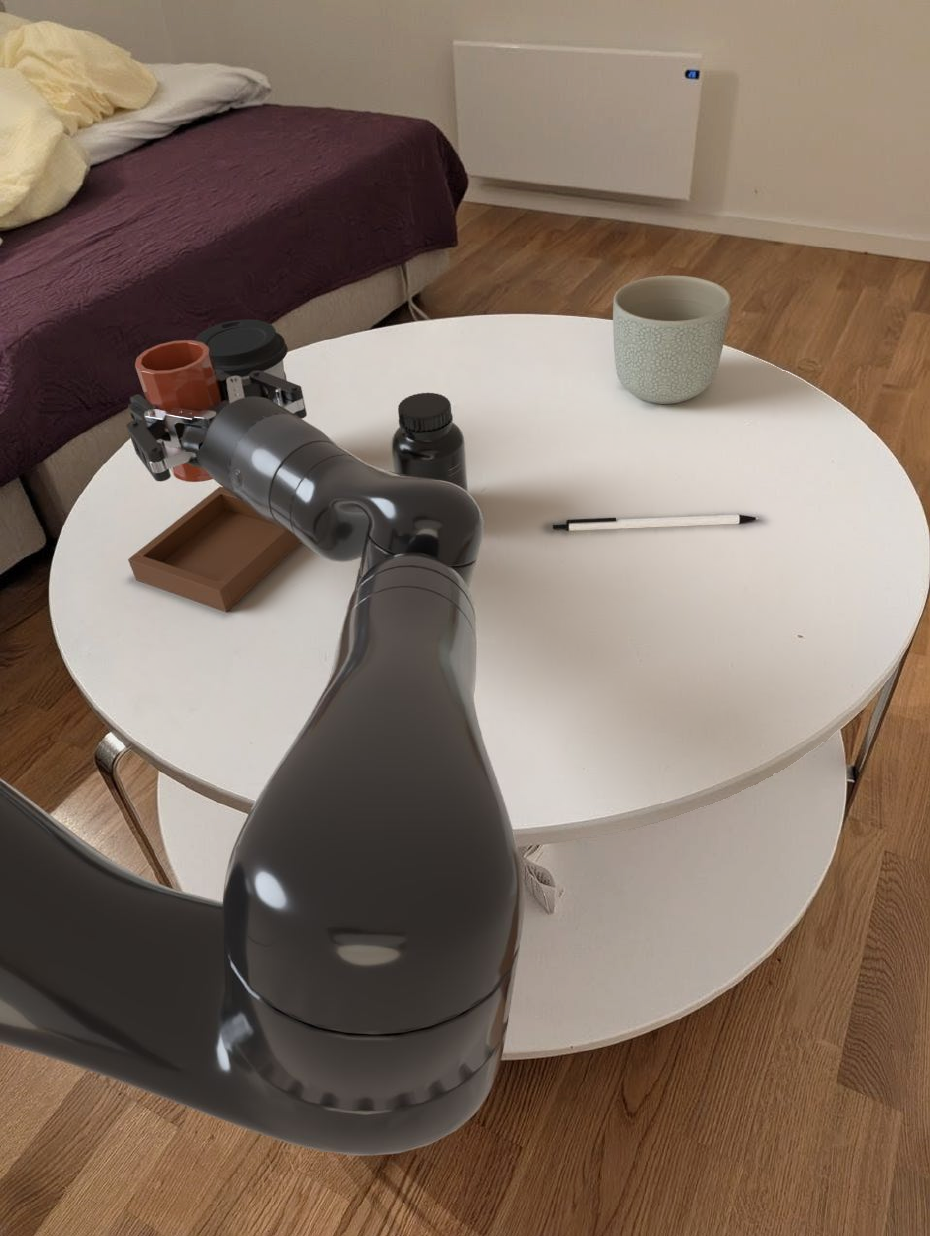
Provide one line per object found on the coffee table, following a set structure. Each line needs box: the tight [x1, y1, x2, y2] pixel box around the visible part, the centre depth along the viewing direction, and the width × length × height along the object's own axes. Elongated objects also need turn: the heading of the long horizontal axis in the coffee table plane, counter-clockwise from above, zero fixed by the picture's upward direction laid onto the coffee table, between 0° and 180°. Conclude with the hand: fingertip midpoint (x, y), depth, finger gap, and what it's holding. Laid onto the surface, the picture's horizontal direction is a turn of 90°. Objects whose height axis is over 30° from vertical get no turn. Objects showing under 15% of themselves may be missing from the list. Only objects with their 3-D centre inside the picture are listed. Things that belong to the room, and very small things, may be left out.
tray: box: [127, 486, 302, 613], centre depth 87 cm, size 13×11×2 cm
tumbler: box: [134, 339, 224, 483], centre depth 76 cm, size 6×6×10 cm
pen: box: [552, 514, 758, 532], centre depth 87 cm, size 1×19×1 cm, turn 89°
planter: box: [612, 275, 732, 405], centre depth 102 cm, size 12×12×11 cm
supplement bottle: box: [391, 392, 469, 493], centre depth 87 cm, size 7×7×12 cm
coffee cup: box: [194, 319, 289, 381], centre depth 94 cm, size 9×9×15 cm
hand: (172, 391), depth 77 cm, fingers closed on tumbler, 6 cm apart
